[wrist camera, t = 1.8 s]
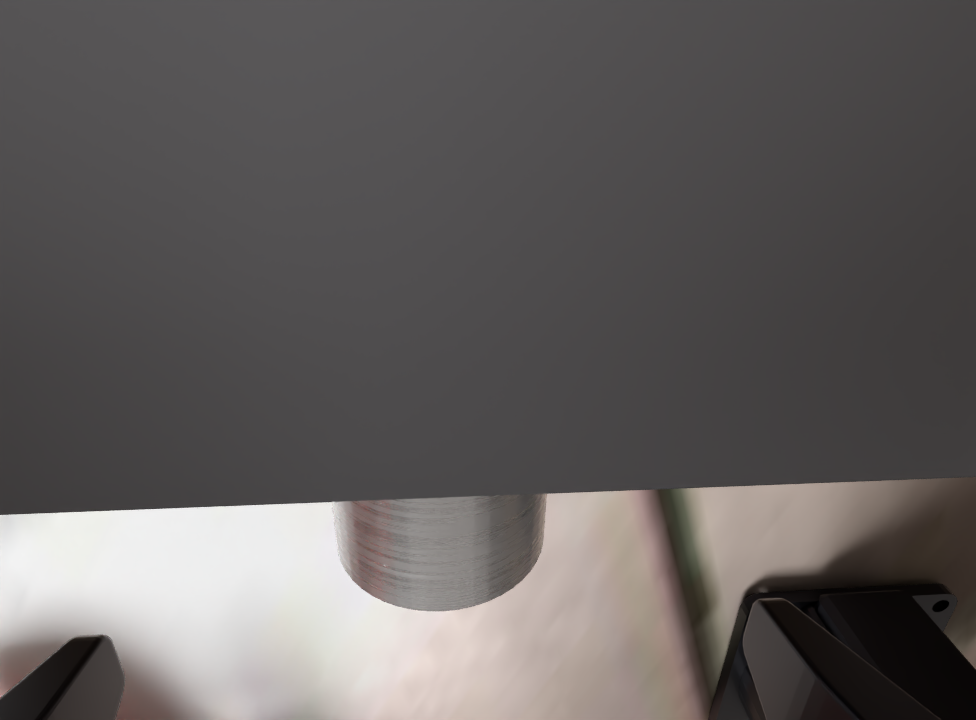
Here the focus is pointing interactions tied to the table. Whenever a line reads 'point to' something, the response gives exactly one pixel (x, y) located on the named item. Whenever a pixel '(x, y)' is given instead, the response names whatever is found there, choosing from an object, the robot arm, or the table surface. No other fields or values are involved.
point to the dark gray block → (481, 248)
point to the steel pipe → (440, 547)
